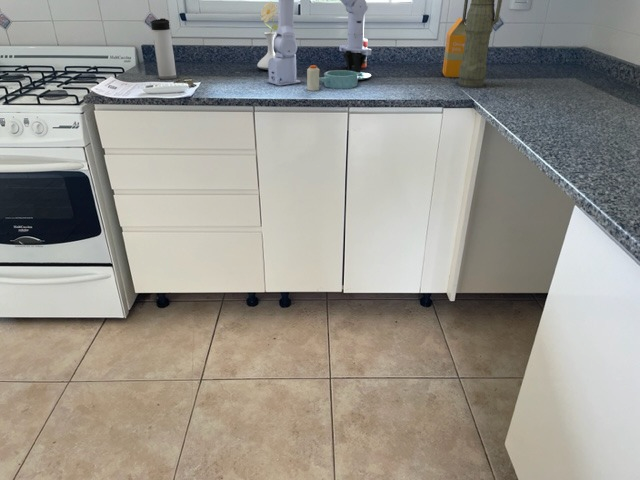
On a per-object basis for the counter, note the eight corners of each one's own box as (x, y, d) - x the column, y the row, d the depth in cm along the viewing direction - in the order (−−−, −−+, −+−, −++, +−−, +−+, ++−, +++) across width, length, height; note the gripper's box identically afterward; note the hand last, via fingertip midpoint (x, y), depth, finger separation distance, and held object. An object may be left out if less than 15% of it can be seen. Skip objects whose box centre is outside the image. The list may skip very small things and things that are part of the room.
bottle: (311, 91, 162) (311, 67, 159) (305, 89, 165) (304, 65, 161) (321, 89, 164) (321, 66, 161) (314, 87, 167) (314, 64, 164)
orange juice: (462, 72, 191) (469, 17, 182) (465, 77, 184) (473, 19, 174) (441, 72, 192) (448, 16, 182) (444, 76, 184) (451, 19, 175)
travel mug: (179, 76, 184) (171, 18, 174) (173, 79, 178) (164, 20, 169) (163, 75, 185) (154, 18, 175) (156, 79, 179) (147, 19, 169)
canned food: (359, 70, 196) (360, 40, 191) (343, 67, 201) (344, 39, 195) (369, 67, 202) (371, 38, 196) (353, 65, 206) (354, 37, 201)
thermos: (485, 89, 166) (504, -29, 149) (450, 85, 170) (465, -29, 153) (490, 84, 173) (509, -29, 156) (456, 81, 177) (471, -29, 160)
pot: (370, 84, 171) (370, 73, 169) (331, 91, 163) (332, 78, 161) (348, 79, 180) (349, 68, 178) (311, 85, 171) (311, 73, 169)
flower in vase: (253, 68, 199) (249, 0, 187) (279, 66, 203) (277, -1, 191) (264, 73, 189) (260, 2, 177) (291, 71, 193) (289, 1, 181)
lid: (377, 78, 181) (378, 66, 179) (352, 82, 175) (352, 70, 172) (355, 73, 190) (356, 61, 188) (330, 77, 183) (330, 65, 181)
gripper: (378, 35, 172) (375, 75, 179) (349, 31, 182) (348, 69, 189) (364, 36, 168) (362, 77, 175) (335, 33, 178) (334, 71, 184)
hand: (354, 73), depth 181 cm, fingers closed on lid, 2 cm apart
